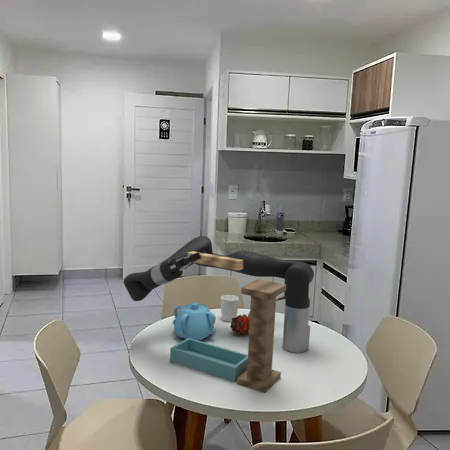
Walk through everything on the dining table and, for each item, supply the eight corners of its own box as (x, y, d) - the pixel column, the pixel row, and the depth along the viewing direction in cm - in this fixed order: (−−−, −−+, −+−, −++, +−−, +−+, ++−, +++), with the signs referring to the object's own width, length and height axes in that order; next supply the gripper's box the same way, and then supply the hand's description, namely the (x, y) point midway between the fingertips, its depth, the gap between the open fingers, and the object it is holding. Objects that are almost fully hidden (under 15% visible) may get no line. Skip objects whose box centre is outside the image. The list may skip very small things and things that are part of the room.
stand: (236, 384, 144) (241, 287, 139) (253, 369, 154) (258, 279, 149) (264, 393, 139) (270, 293, 134) (280, 377, 149) (286, 284, 145)
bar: (187, 261, 154) (187, 252, 154) (192, 259, 157) (192, 251, 156) (238, 270, 144) (238, 261, 144) (242, 268, 147) (243, 259, 146)
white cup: (218, 321, 198) (219, 299, 197) (221, 315, 206) (222, 294, 204) (236, 323, 197) (237, 301, 195) (238, 316, 205) (239, 295, 203)
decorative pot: (217, 343, 175) (219, 309, 173) (176, 345, 172) (177, 311, 170) (209, 327, 191) (211, 296, 189) (171, 329, 187) (172, 297, 185)
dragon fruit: (233, 341, 181) (244, 335, 192) (250, 332, 178) (260, 327, 189) (223, 322, 183) (234, 317, 194) (240, 313, 180) (250, 308, 191)
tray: (170, 361, 158) (170, 348, 157) (188, 350, 167) (188, 337, 166) (234, 382, 145) (235, 367, 144) (250, 369, 154) (251, 355, 154)
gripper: (182, 277, 167) (217, 260, 158) (158, 285, 155) (195, 268, 146) (174, 258, 167) (209, 241, 159) (150, 265, 155) (186, 247, 147)
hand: (202, 254), depth 152 cm, fingers closed on bar, 3 cm apart
